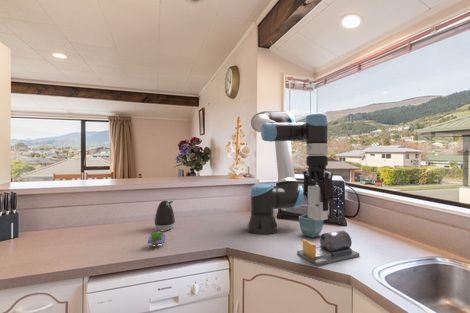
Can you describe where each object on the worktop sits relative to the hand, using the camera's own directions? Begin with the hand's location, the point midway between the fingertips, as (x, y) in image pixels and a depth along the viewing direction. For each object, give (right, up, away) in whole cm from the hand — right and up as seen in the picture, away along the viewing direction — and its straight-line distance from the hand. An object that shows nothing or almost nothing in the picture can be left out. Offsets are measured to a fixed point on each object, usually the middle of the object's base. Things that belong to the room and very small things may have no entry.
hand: (317, 217), depth 91 cm
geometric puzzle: (-64, -16, +12) cm, 67 cm away
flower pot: (+5, -15, +25) cm, 30 cm away
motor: (+5, -15, +2) cm, 16 cm away
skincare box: (0, -1, 0) cm, 1 cm away
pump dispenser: (-67, -16, +36) cm, 78 cm away
